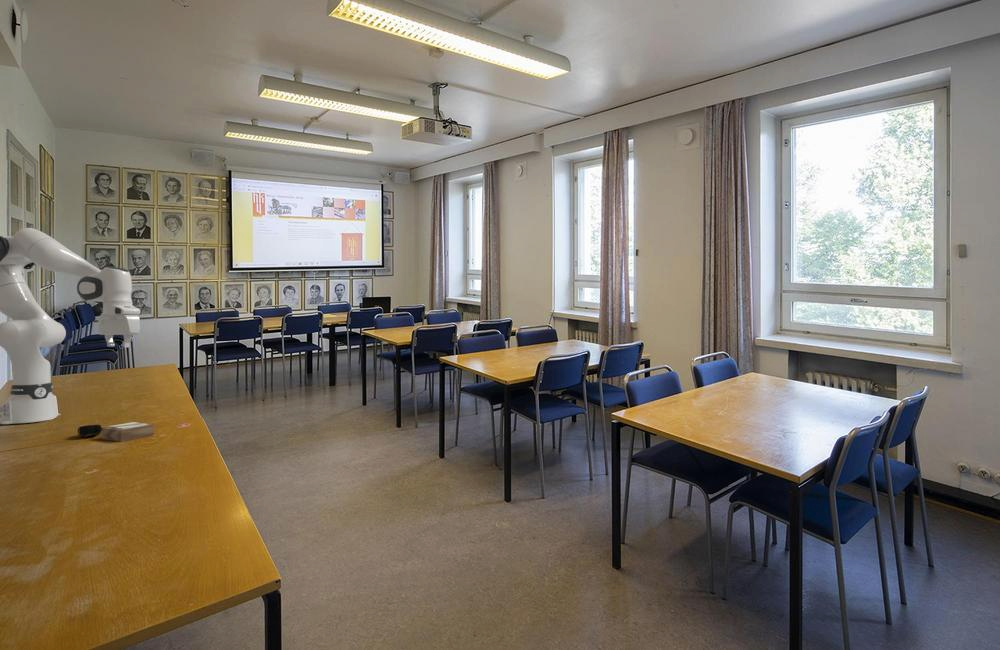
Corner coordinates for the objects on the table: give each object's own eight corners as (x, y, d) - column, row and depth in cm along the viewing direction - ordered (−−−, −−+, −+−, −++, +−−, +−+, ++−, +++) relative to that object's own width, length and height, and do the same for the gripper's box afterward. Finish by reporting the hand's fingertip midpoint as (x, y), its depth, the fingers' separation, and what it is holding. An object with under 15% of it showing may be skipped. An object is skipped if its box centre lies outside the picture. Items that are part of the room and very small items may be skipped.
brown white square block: (101, 438, 184) (101, 426, 184) (135, 432, 194) (134, 421, 194) (120, 441, 179) (120, 429, 179) (153, 435, 189) (153, 423, 189)
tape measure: (101, 433, 186) (100, 423, 187) (76, 437, 182) (76, 426, 183) (103, 434, 192) (102, 424, 192) (79, 438, 188) (78, 427, 188)
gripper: (92, 310, 200) (92, 347, 200) (125, 309, 191) (125, 347, 192) (110, 310, 206) (111, 346, 206) (143, 309, 197) (143, 347, 197)
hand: (118, 347), depth 199 cm, fingers open, 8 cm apart
